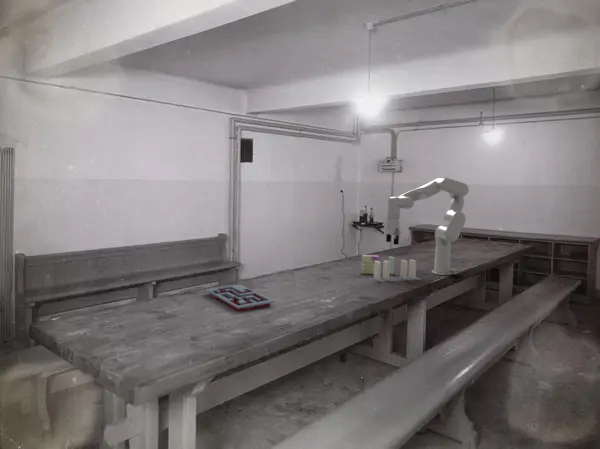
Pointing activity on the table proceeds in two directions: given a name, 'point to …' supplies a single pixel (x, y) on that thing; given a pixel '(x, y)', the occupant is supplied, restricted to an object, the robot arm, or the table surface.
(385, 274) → the domino
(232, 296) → the maze game
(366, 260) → the box
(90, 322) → the table surface
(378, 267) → the domino
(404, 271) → the domino
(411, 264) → the domino
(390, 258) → the domino
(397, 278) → the mat
